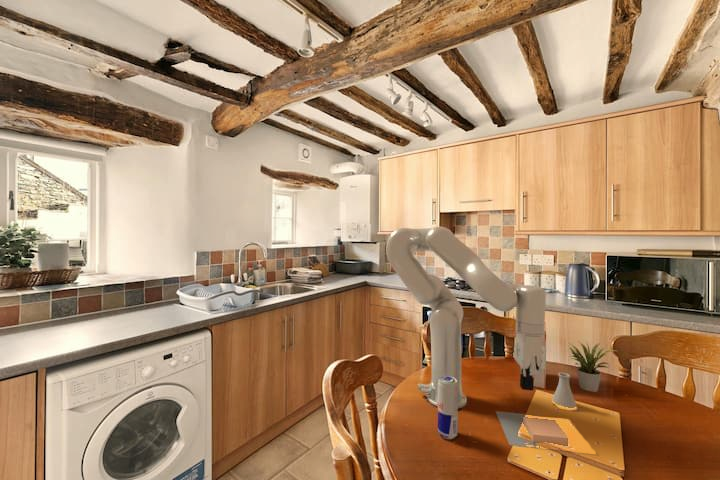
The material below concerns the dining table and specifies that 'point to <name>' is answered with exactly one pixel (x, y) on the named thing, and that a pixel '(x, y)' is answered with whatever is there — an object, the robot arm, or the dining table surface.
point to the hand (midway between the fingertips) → (526, 388)
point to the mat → (513, 428)
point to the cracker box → (541, 374)
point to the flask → (564, 392)
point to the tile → (545, 431)
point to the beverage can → (447, 407)
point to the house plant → (589, 367)
